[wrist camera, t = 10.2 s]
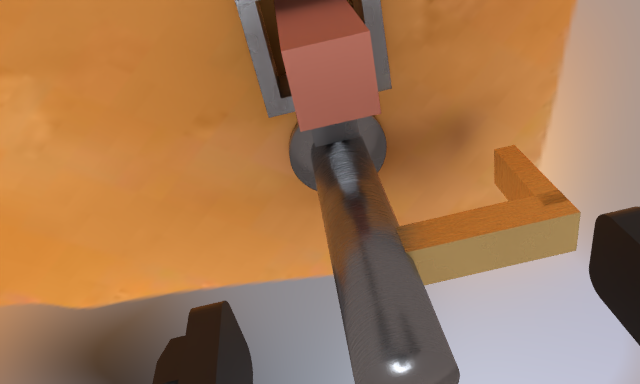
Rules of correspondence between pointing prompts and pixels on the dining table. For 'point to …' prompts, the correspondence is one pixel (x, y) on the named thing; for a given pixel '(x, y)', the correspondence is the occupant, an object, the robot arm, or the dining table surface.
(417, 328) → the grey stand
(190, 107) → the dining table surface
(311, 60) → the red rectangular block
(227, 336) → the robot arm
